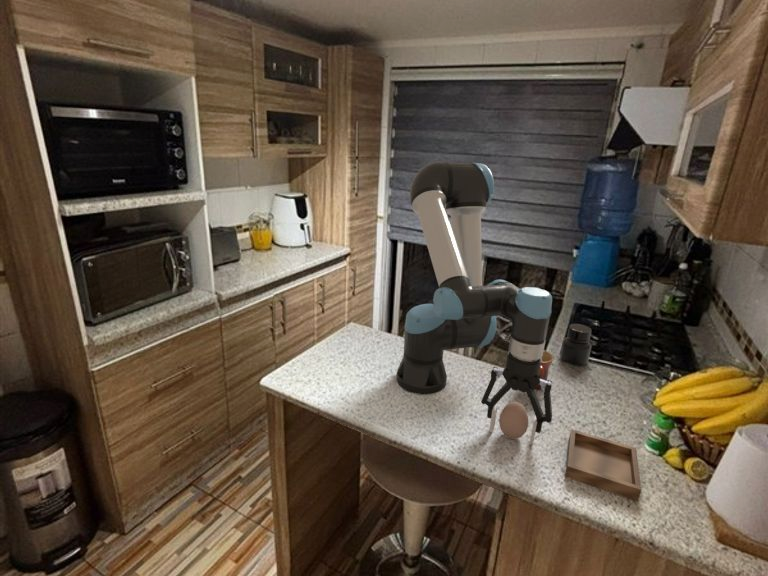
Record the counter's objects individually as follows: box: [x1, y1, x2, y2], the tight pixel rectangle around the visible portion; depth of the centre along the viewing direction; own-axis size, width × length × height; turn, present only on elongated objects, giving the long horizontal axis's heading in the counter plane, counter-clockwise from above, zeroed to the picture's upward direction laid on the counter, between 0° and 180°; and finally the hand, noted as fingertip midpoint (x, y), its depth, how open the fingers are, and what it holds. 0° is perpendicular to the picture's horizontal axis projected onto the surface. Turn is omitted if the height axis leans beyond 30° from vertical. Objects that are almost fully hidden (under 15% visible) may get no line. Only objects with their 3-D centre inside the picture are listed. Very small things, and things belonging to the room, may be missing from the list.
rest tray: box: [564, 428, 642, 502], centre depth 94 cm, size 14×14×3 cm
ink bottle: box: [559, 323, 592, 367], centre depth 140 cm, size 10×9×12 cm
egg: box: [498, 401, 529, 440], centre depth 102 cm, size 7×7×10 cm
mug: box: [535, 349, 555, 391], centre depth 123 cm, size 12×9×10 cm
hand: (511, 434), depth 103 cm, fingers open, 9 cm apart
